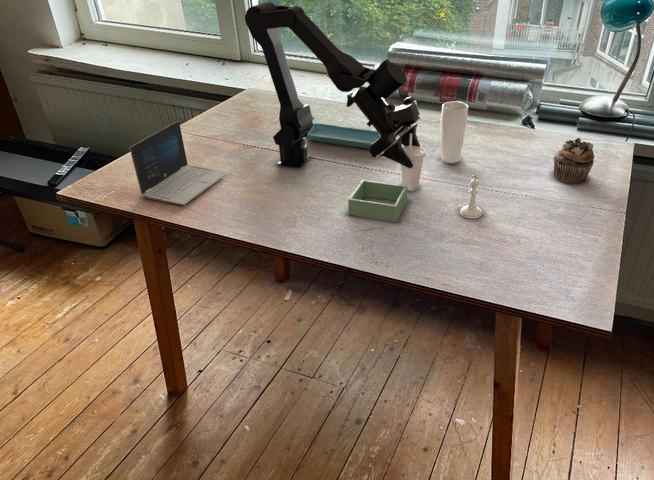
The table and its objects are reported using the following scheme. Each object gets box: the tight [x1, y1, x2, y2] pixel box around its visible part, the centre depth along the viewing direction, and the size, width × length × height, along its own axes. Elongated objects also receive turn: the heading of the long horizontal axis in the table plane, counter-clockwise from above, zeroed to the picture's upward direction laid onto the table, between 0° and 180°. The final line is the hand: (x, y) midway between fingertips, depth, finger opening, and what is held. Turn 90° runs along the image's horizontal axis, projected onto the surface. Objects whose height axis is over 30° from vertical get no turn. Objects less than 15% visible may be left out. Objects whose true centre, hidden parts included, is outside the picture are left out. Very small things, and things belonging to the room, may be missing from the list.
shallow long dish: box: [304, 122, 398, 150], centre depth 164 cm, size 26×9×2 cm, turn 72°
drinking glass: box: [440, 100, 469, 164], centre depth 149 cm, size 7×7×15 cm
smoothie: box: [400, 133, 426, 192], centre depth 137 cm, size 6×6×14 cm
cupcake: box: [553, 137, 595, 185], centre depth 142 cm, size 10×10×10 cm
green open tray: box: [347, 179, 408, 223], centre depth 132 cm, size 11×10×4 cm
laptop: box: [129, 120, 228, 206], centre depth 138 cm, size 18×12×13 cm
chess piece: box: [459, 172, 483, 219], centre depth 128 cm, size 5×5×10 cm
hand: (417, 161), depth 136 cm, fingers closed on smoothie, 6 cm apart
